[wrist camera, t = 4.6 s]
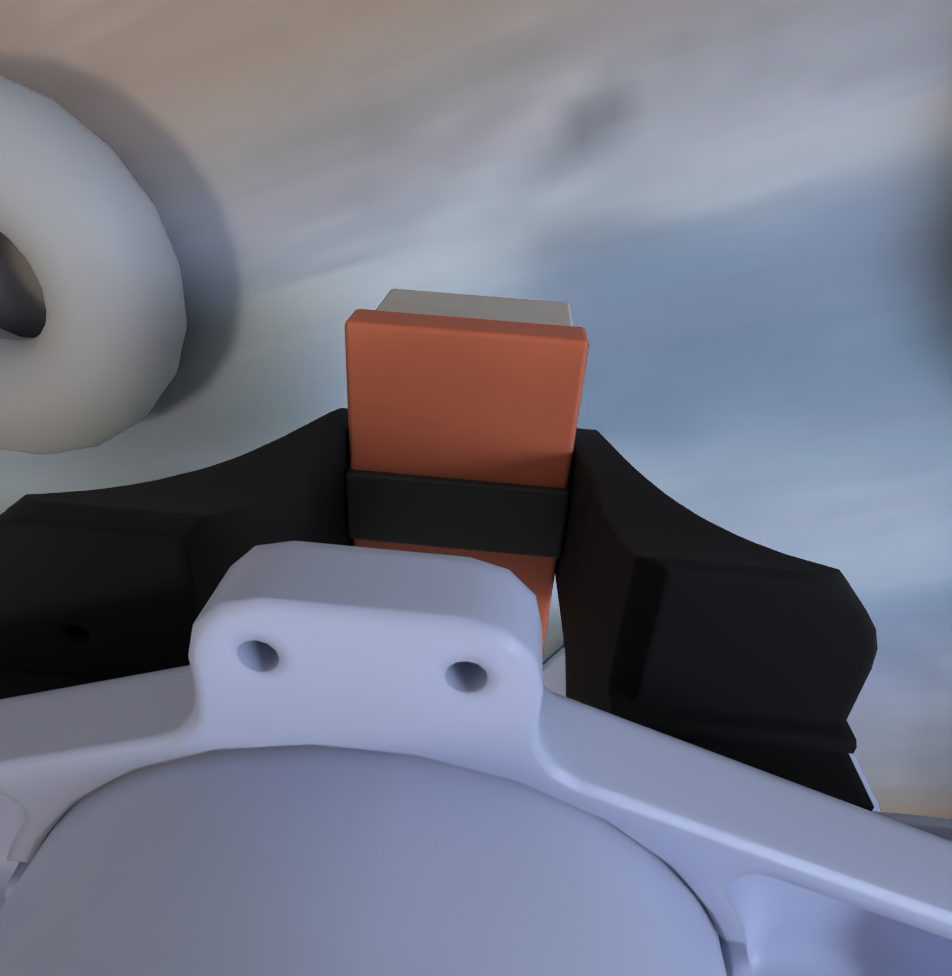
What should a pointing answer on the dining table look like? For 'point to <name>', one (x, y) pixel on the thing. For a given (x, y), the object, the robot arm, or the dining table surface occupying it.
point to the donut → (82, 284)
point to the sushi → (464, 429)
